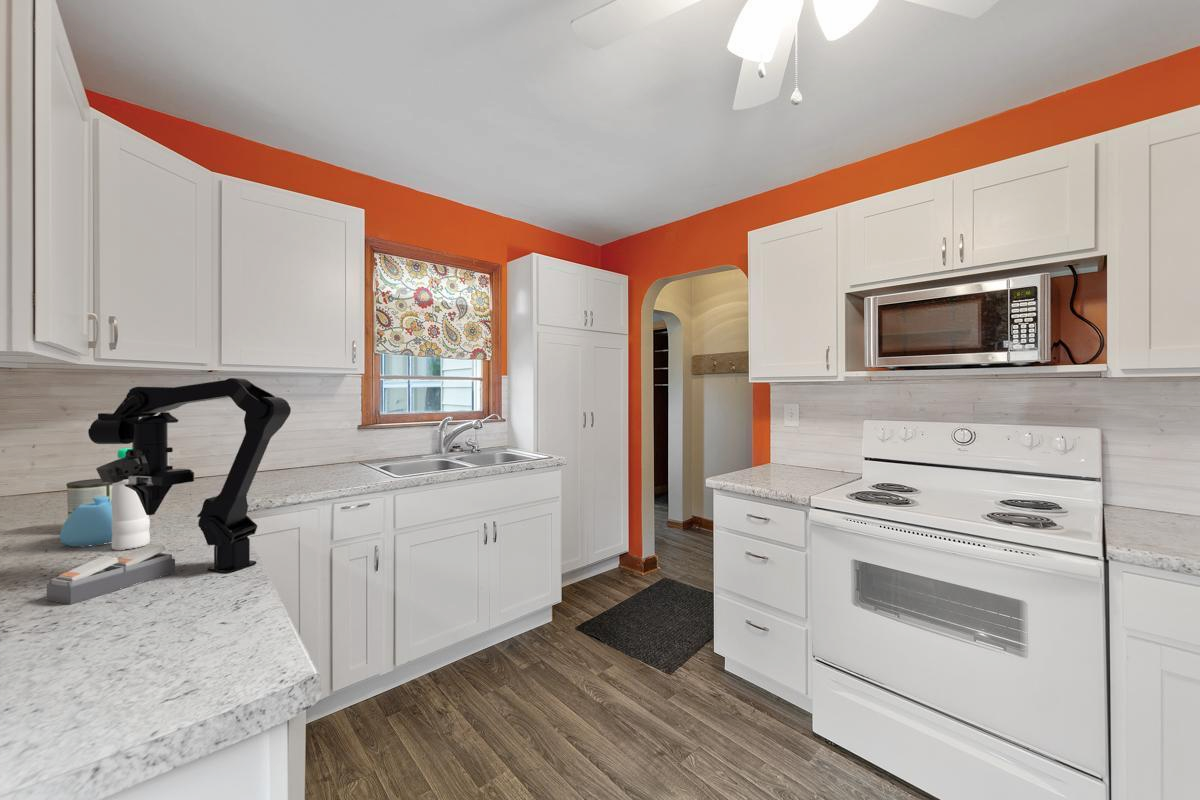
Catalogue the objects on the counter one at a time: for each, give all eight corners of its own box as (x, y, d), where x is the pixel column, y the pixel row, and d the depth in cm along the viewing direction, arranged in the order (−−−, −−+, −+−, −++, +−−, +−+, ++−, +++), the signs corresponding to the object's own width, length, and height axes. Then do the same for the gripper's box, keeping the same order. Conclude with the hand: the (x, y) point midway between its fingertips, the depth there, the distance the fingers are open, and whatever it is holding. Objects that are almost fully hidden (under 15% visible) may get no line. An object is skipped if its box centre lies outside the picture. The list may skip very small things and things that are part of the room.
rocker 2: (165, 549, 105) (163, 545, 105) (127, 568, 99) (125, 563, 99) (152, 548, 107) (151, 543, 106) (113, 566, 100) (112, 561, 100)
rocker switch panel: (175, 572, 106) (175, 554, 106) (70, 604, 90) (70, 583, 90) (152, 569, 108) (152, 551, 108) (46, 600, 92) (46, 579, 92)
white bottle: (126, 552, 120) (125, 450, 120) (103, 550, 122) (103, 449, 122) (157, 543, 127) (156, 447, 127) (135, 542, 129) (135, 446, 129)
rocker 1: (118, 561, 98) (116, 556, 97) (73, 583, 91) (71, 577, 91) (105, 560, 99) (103, 555, 98) (59, 580, 92) (57, 575, 92)
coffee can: (65, 530, 140) (65, 481, 140) (115, 523, 148) (115, 476, 148) (68, 537, 133) (68, 485, 133) (121, 529, 141) (120, 480, 141)
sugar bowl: (154, 534, 136) (153, 493, 136) (84, 551, 121) (84, 504, 121) (116, 531, 140) (116, 490, 140) (44, 546, 125) (44, 501, 125)
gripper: (74, 446, 103) (74, 520, 103) (135, 448, 97) (135, 527, 98) (137, 441, 114) (138, 509, 114) (195, 443, 108) (196, 514, 108)
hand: (150, 514), depth 108 cm, fingers closed
